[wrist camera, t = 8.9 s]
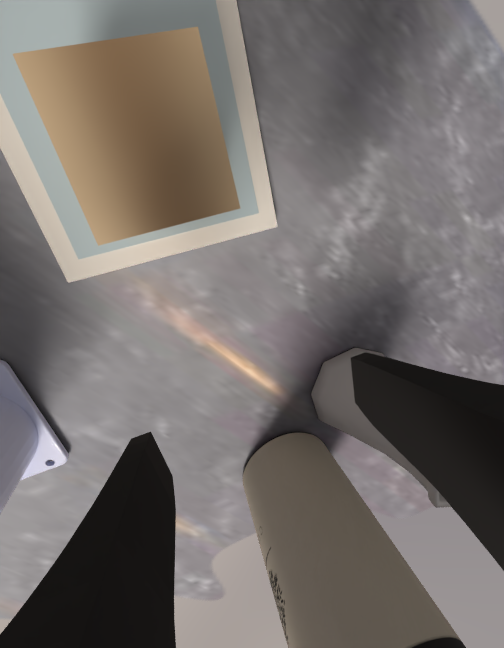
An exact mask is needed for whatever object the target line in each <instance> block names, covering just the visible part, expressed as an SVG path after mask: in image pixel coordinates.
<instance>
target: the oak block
mask: <svg viewBox="0 0 504 648" xmlns="http://www.w3.org/2000/svg"><path fill="white" fill-rule="evenodd" d="M13 56H14V59H15V61H16V63H17V65H18V68H19V70H20V72H21V74H22V77H23V79H24V81H25V83H26V85H27V88H28V90H29V92H30V94H31V97H32V99H33V101H34V103H35V106H36V108H37V110H38V112H39V115H40V117H41V119H42V121H43V124H44V126H45V128H46V130H47V132H48V135H49V137H50V139H51V141H52V144H53V146H54V148H55V150H56V153H57V155H58V157H59V159H60V162H61V164H62V166H63V168H64V170H65V173H66V175H67V177H68V179H69V182H70V184H71V186H72V188H73V191H74V193H75V195H76V197H77V200H78V202H79V204H80V206H81V209H82V211H83V213H84V215H85V217H86V220H87V222H88V224H89V226H90V229H91V231H92V233H93V235H94V238H95V240H96V242H97V244H98V246H99V245H103V244H107V243H111V242H114V241H118V240H122V239H126V238H130V237H134V236H137V235H141V234H145V233H149V232H153V231H156V230H160V229H164V228H168V227H172V226H175V225H179V224H183V223H187V222H191V221H195V220H198V219H202V218H206V217H210V216H214V215H217V214H221V213H225V212H229V211H233V210H237V209H240V204H239V199H238V195H237V191H236V187H235V182H234V178H233V174H232V170H231V165H230V161H229V157H228V153H227V148H226V144H225V140H224V136H223V131H222V127H221V123H220V119H219V114H218V110H217V106H216V102H215V97H214V93H213V89H212V85H211V80H210V76H209V72H208V68H207V63H206V59H205V55H204V51H203V46H202V42H201V38H200V34H199V29H198V27H192V28H185V29H178V30H171V31H164V32H158V33H151V34H144V35H137V36H130V37H123V38H117V39H110V40H103V41H96V42H89V43H82V44H76V45H69V46H62V47H55V48H48V49H42V50H35V51H28V52H21V53H14V54H13Z"/></svg>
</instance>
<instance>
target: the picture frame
mask: <svg viewBox="0 0 504 648" xmlns="http://www.w3.org/2000/svg"><path fill="white" fill-rule="evenodd" d="M192 27H198V29H199V34H200V38H201V42H202V46H203V51H204V55H205V59H206V63H207V68H208V72H209V76H210V80H211V85H212V89H213V93H214V97H215V102H216V106H217V110H218V114H219V119H220V123H221V127H222V131H223V136H224V140H225V144H226V148H227V153H228V157H229V161H230V165H231V170H232V174H233V178H234V182H235V187H236V191H237V195H238V199H239V204H240V209H237V210H233V211H229V212H225V213H221V214H217V215H214V216H210V217H206V218H202V219H198V220H195V221H191V222H187V223H183V224H179V225H175V226H172V227H168V228H164V229H160V230H156V231H153V232H149V233H145V234H141V235H137V236H134V237H130V238H126V239H122V240H118V241H114V242H111V243H107V244H103V245H99V246H98V244H97V242H96V240H95V238H94V235H93V233H92V231H91V229H90V226H89V224H88V222H87V220H86V217H85V215H84V213H83V211H82V209H81V206H80V204H79V202H78V200H77V197H76V195H75V193H74V191H73V188H72V186H71V184H70V182H69V179H68V177H67V175H66V173H65V170H64V168H63V166H62V164H61V162H60V159H59V157H58V155H57V153H56V150H55V148H54V146H53V144H52V141H51V139H50V137H49V135H48V132H47V130H46V128H45V126H44V124H43V121H42V119H41V117H40V115H39V112H38V110H37V108H36V106H35V103H34V101H33V99H32V97H31V94H30V92H29V90H28V88H27V85H26V83H25V81H24V79H23V77H22V74H21V72H20V70H19V68H18V65H17V63H16V61H15V59H14V56H13V54H14V53H21V52H28V51H35V50H42V49H48V48H55V47H62V46H69V45H76V44H82V43H89V42H96V41H103V40H110V39H117V38H123V37H130V36H137V35H144V34H151V33H158V32H164V31H171V30H178V29H185V28H192ZM0 148H1V150H2V152H3V154H4V156H5V158H6V160H7V162H8V164H9V166H10V168H11V170H12V172H13V174H14V176H15V178H16V180H17V182H18V184H19V186H20V188H21V190H22V192H23V194H24V196H25V198H26V200H27V202H28V204H29V206H30V208H31V210H32V212H33V214H34V216H35V218H36V220H37V222H38V224H39V226H40V228H41V230H42V232H43V234H44V236H45V238H46V240H47V242H48V244H49V246H50V248H51V250H52V252H53V254H54V256H55V258H56V260H57V262H58V264H59V266H60V268H61V270H62V271H63V273H64V275H65V277H66V279H67V281H68V283H70V282H74V281H77V280H81V279H85V278H88V277H92V276H96V275H100V274H103V273H107V272H111V271H115V270H118V269H122V268H126V267H129V266H133V265H137V264H141V263H144V262H148V261H152V260H155V259H159V258H163V257H167V256H170V255H174V254H178V253H182V252H185V251H189V250H193V249H196V248H200V247H204V246H208V245H211V244H215V243H219V242H222V241H226V240H230V239H234V238H237V237H241V236H245V235H249V234H252V233H256V232H260V231H263V230H267V229H271V228H275V227H278V226H277V221H276V215H275V210H274V204H273V199H272V193H271V188H270V182H269V177H268V172H267V166H266V161H265V155H264V150H263V144H262V139H261V133H260V128H259V122H258V117H257V111H256V106H255V100H254V95H253V89H252V84H251V78H250V73H249V67H248V62H247V56H246V51H245V45H244V40H243V34H242V29H241V23H240V18H239V12H238V7H237V1H236V0H0Z"/></svg>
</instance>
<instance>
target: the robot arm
mask: <svg viewBox="0 0 504 648" xmlns="http://www.w3.org/2000/svg"><path fill="white" fill-rule="evenodd" d="M351 368H352V378H353V388H354V398H355V403H356V405H357V406H358V407H359V409H360V410H361V411H362V413H363V414H364V415H365V416H366V418H367V419H368V420H369V421H370V423H371V424H372V425H373V426H374V427H375V428H376V429H377V430H378V431H379V432H380V433H381V434H382V435H383V436H384V437H385V438H386V439H387V440H388V441H389V442H390V443H391V444H392V445H393V446H394V447H395V448H396V449H397V450H398V451H399V452H400V453H401V454H402V455H403V456H404V457H405V458H406V459H407V460H408V461H409V462H410V463H411V464H412V465H413V466H414V467H415V468H416V469H417V470H418V471H419V472H420V473H421V474H422V475H423V476H424V477H425V478H426V479H427V480H428V481H429V482H430V483H431V484H432V485H433V486H434V487H435V488H436V489H437V491H438V492H439V493H440V494H441V495H442V496H443V497H444V499H445V500H446V501H447V502H448V503H449V505H450V506H451V507H452V508H453V509H454V510H455V511H456V513H457V514H458V515H459V516H460V517H461V519H462V520H463V521H464V522H465V523H466V525H467V526H468V527H469V528H470V529H471V531H472V532H473V533H474V534H475V536H476V537H477V538H478V539H479V540H480V542H481V543H482V544H483V545H484V547H485V548H486V549H487V550H488V551H489V553H490V554H491V555H492V556H493V558H494V559H495V560H496V561H497V563H498V564H499V565H500V566H501V568H502V569H503V570H504V385H499V384H493V383H488V382H482V381H477V380H473V379H468V378H464V377H459V376H455V375H451V374H446V373H442V372H438V371H435V370H431V369H427V368H423V367H419V366H416V365H412V364H409V363H405V362H401V361H398V360H394V359H391V358H387V357H383V356H379V355H375V354H371V353H366V352H365V353H362V354H359V355H357V356H354V357H351ZM68 457H69V454H68V452H67V451H66V449H65V448H64V446H63V445H62V443H61V442H60V440H59V439H58V437H57V436H56V434H55V433H54V431H53V430H52V428H51V427H50V425H49V424H48V422H47V421H46V419H45V418H44V416H43V415H42V413H41V412H40V411H39V409H38V408H37V406H36V405H35V403H34V402H33V400H32V399H31V397H30V396H29V394H28V393H27V391H26V390H25V388H24V387H23V385H22V384H21V382H20V381H19V379H18V378H17V376H16V375H15V373H14V372H13V370H12V369H11V367H10V366H9V364H8V363H7V362H5V361H3V360H0V513H1V512H2V510H3V508H4V507H5V505H6V503H7V502H8V500H9V498H10V496H11V495H12V493H13V491H14V490H15V488H16V486H17V485H18V483H19V481H20V480H22V479H25V478H28V477H30V476H33V475H36V474H38V473H41V472H44V471H47V470H49V469H52V468H55V467H57V466H60V465H63V464H64V463H66V461H67V459H68ZM49 460H53V461H49ZM175 518H176V508H175V496H174V486H173V477H172V474H171V472H170V470H169V468H168V466H167V464H166V462H165V460H164V458H163V456H162V454H161V452H160V450H159V448H158V445H157V443H156V441H155V439H154V437H153V435H152V433H151V432H148V433H146V434H143V435H140V436H138V437H135V438H132V439H131V440H130V442H129V444H128V445H127V447H126V449H125V451H124V452H123V454H122V456H121V457H120V459H119V461H118V463H117V464H116V466H115V468H114V470H113V471H112V473H111V475H110V477H109V478H108V480H107V482H106V483H105V485H104V487H103V488H102V490H101V492H100V494H99V495H98V497H97V499H96V500H95V502H94V504H93V505H92V507H91V508H90V510H89V511H88V513H87V515H86V516H85V518H84V519H83V521H82V522H81V524H80V525H79V527H78V528H77V530H76V532H75V533H74V535H73V536H72V538H71V539H70V541H69V542H68V544H67V545H66V547H65V548H64V550H63V551H62V553H61V554H60V556H59V557H58V559H57V560H56V561H55V563H54V564H53V566H52V567H51V568H50V570H49V571H48V573H47V574H46V575H45V577H44V578H43V579H42V581H41V582H40V584H39V585H38V586H37V588H36V589H35V590H34V592H33V593H32V594H31V596H30V597H29V599H28V600H27V601H26V603H25V604H24V605H23V606H22V608H21V609H20V610H19V612H18V613H17V614H16V616H15V617H14V618H13V619H12V621H11V622H10V623H9V624H8V626H7V627H6V628H5V629H4V631H3V632H2V633H1V634H0V648H176V642H175V626H174V569H175Z"/></svg>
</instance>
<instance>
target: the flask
mask: <svg viewBox="0 0 504 648" xmlns="http://www.w3.org/2000/svg"><path fill="white" fill-rule="evenodd" d="M365 352H366V353H371V354H375V355H379V356H383V357H385V356H384V355H383V353H379V352H374V351H370V350H365V349H360V348H353V349H351V350H349V351H347V352H344V353H342V354H340V355H338V356H336V357H334V358H332V359H330V360H328V361H325V362H323V365H322V367H321V370H320V373H319V375H318V378H317V380H316V383H315V385H314V388H313V390H312V393H311V396H312V399H313V402H314V405H315V408H316V412H317V415H318V418H319V420H321V421H323V422H325V423H326V424H328V425H330V426H332V427H335V428H337V429H339V430H341V431H343V432H345V433H347V434H349V435H351V436H353V437H355V438H357V439H358V440H360V441H362V442H364V443H366V444H368V445H370V446H371V447H373V448H375V449H377V450H379V451H381V452H383V453H384V454H386V455H387V456H388V457H390V458H391V459H392V460H394V461H395V462H397V463H398V464H399V465H401V466H402V467H403V468H405V469H406V470H407V471H409V472H410V473H411V474H412V475H413V476H414V477H415V478H416V479H417V480H418V481H419V482H420V483H421V484H422V485H423V486H424V487H425V489H426V490H427V491H428V497H429V500H430V501H431V503H432V504H433V505H434V506H435V507H451V506H450V505H449V503H448V502H447V501H446V500H445V499H444V497H443V496H442V495H441V494H440V493H439V492H438V491H437V489H436V488H435V487H434V486H433V485H432V484H431V483H430V482H429V481H428V480H427V479H426V478H425V477H424V476H423V475H422V474H421V473H420V472H419V471H418V470H417V469H416V468H415V467H414V466H413V465H412V464H411V463H410V462H409V461H408V460H407V459H406V458H405V457H404V456H403V455H402V454H401V453H400V452H399V451H398V450H397V449H396V448H395V447H394V446H393V445H392V444H391V443H390V442H389V441H388V440H387V439H386V438H385V437H384V436H383V435H382V434H381V433H380V432H379V431H378V430H377V429H376V428H375V427H374V426H373V425H372V424H371V423H370V421H369V420H368V419H367V418H366V416H365V415H364V414H363V413H362V411H361V410H360V409H359V407H358V406H357V405H356V403H355V398H354V388H353V378H352V368H351V357H354V356H357V355H359V354H362V353H365Z"/></svg>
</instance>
